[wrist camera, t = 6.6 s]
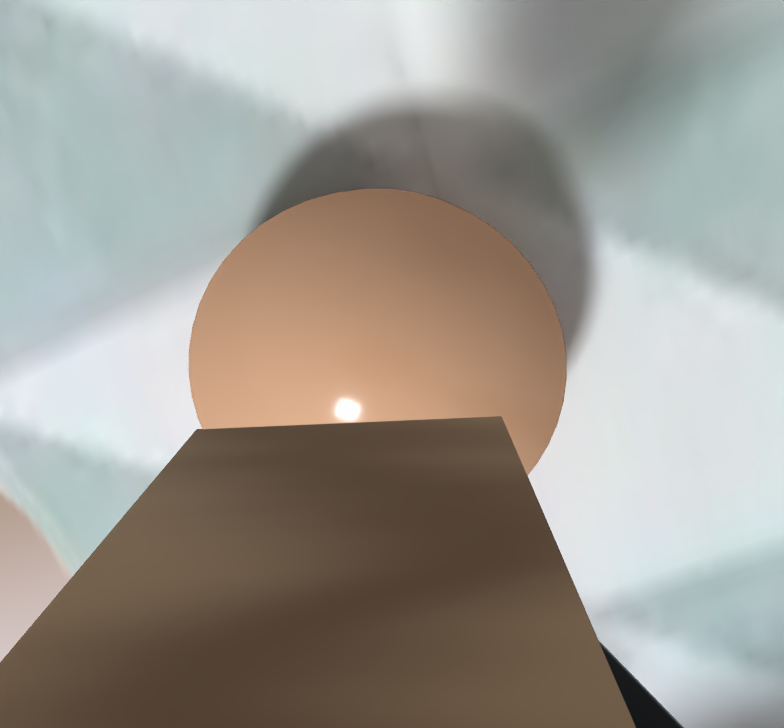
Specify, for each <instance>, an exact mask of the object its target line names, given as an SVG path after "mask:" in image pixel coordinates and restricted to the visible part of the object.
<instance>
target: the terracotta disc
mask: <svg viewBox="0 0 784 728" xmlns="http://www.w3.org/2000/svg"><path fill="white" fill-rule="evenodd" d="M189 378H190V386H191V393H192V398H193V402H194V406H195V409H196V413H197V417H198V419H199V422H200V424H201V426H202V429H218V428H241V427H264V426H287V425H310V424H333V423H356V422H380V421H403V420H426V419H449V418H472V417H495V416H502V418H503V421H504V423H505V425H506V428H507V430H508V432H509V435H510V437H511V439H512V442H513V444H514V446H515V448H516V451H517V453H518V455H519V458H520V460H521V462H522V465H523V467H524V469H525V472H526V474H527V475H528V474H529V473H530V472H531V470H532V469H533V468H534V467H535V465H536V464H537V463H538V461H539V459H540V458H541V456H542V454H543V453H544V451H545V449H546V448H547V446H548V444H549V442H550V440H551V437H552V435H553V433H554V430H555V428H556V426H557V423H558V419H559V416H560V412H561V409H562V405H563V401H564V394H565V386H566V351H565V344H564V337H563V331H562V328H561V325H560V321H559V318H558V315H557V312H556V308H555V306H554V304H553V302H552V300H551V298H550V296H549V293H548V291H547V289H546V287H545V285H544V284H543V282H542V281H541V279H540V277H539V276H538V274H537V273H536V271H535V270H534V268H533V267H532V265H531V264H530V263H529V262H528V261H527V259H526V258H525V257H524V256H523V255H522V254H521V253H520V252H519V250H518V249H517V248H516V247H515V246H514V245H513V244H512V243H511V242H510V241H509V240H507V239H506V238H505V237H504V236H503V235H501V234H500V233H499V232H498V231H497V230H496V229H494V228H493V227H492V226H490V225H489V224H487V223H485V222H484V221H482V220H481V219H479V218H478V217H476V216H474V215H473V214H471V213H469V212H467V211H465V210H463V209H461V208H458V207H456V206H454V205H452V204H450V203H447V202H445V201H443V200H440V199H437V198H434V197H430V196H427V195H423V194H420V193H417V192H411V191H404V190H397V189H359V190H352V191H344V192H336V193H332V194H328V195H325V196H321V197H317V198H314V199H310V200H307V201H305V202H303V203H300V204H298V205H296V206H293V207H291V208H289V209H286V210H284V211H282V212H281V213H279V214H277V215H276V216H274V217H273V218H271V219H269V220H268V221H266V222H264V223H263V224H261V225H260V226H259V227H257V228H256V229H255V230H254V231H253V232H251V233H250V234H249V235H248V236H247V237H246V238H244V239H243V240H242V241H241V242H240V243H239V244H238V245H237V246H236V247H235V248H234V250H233V251H232V252H231V253H230V254H229V255H228V256H227V257H226V258H225V260H224V261H223V262H222V264H221V265H220V267H219V268H218V270H217V271H216V273H215V274H214V276H213V277H212V279H211V280H210V282H209V284H208V286H207V289H206V291H205V293H204V295H203V297H202V299H201V301H200V303H199V307H198V310H197V313H196V317H195V320H194V323H193V327H192V333H191V340H190V347H189Z"/></svg>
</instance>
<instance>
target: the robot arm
mask: <svg viewBox="0 0 784 728" xmlns="http://www.w3.org/2000/svg"><path fill="white" fill-rule="evenodd" d="M598 641H599V640H598ZM599 643H600V645H601V648H602V650H603V652H604V655H605V657H606V659H607V662H608V664H609V666H610V669H611V671H612V673H613V676H614V678H615V680H616V683H617V685H618V687H619V689H620V692H621V694H622V696H623V699H624V701H625V703H626V706H627V708H628V710H629V713H630V715H631V717H632V720H633V722H634V724H635V727H636V728H684V727H683V726H682V725H681V724H680V723H679V722H678V721H677V720H676V719H675V718H674V717H673V716H672V715H671V714H670V713H669V712H668V711H667V710H666V709H665V708H664V707H663V706H662V705H661V704H660V703H659V702H658V701H657V700H656V699H655V698H654V697H653V696H652V695H651V694H650V693H649V692H648V691H647V690H646V688H645V687H644V686H643V685H642V684H641V683H640V682H639V681H638V680H637V679H636V678H635V677H634V676H633V675H632V674H631V673H630V672H629V671H628V670H627V669H626V668H625V667H624V666H623V665H622V664H621V663H620V662H619V661H618V660H617V659H616V658H615V657H614V656H613V655H612V654H611V653H610V652H609V651H608V650H607V649H606V648H605V646H604V645H603V644H602V643H601V642H600V641H599Z"/></svg>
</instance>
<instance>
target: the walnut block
mask: <svg viewBox="0 0 784 728" xmlns="http://www.w3.org/2000/svg"><path fill="white" fill-rule="evenodd" d="M0 728H636V727H635V724H634V722H633V720H632V717H631V715H630V713H629V710H628V708H627V706H626V703H625V701H624V699H623V696H622V694H621V692H620V689H619V687H618V685H617V683H616V680H615V678H614V676H613V673H612V671H611V669H610V666H609V664H608V662H607V659H606V657H605V655H604V652H603V650H602V648H601V645H600V643H599V641H598V638H597V636H596V634H595V632H594V629H593V627H592V625H591V622H590V620H589V618H588V615H587V613H586V611H585V608H584V606H583V604H582V601H581V599H580V597H579V594H578V592H577V590H576V588H575V585H574V583H573V581H572V578H571V576H570V574H569V571H568V569H567V567H566V564H565V562H564V560H563V557H562V555H561V553H560V550H559V548H558V546H557V543H556V541H555V539H554V537H553V534H552V532H551V530H550V527H549V525H548V523H547V520H546V518H545V516H544V513H543V511H542V509H541V506H540V504H539V502H538V499H537V497H536V495H535V493H534V490H533V488H532V486H531V483H530V481H529V479H528V476H527V474H526V472H525V469H524V467H523V465H522V462H521V460H520V458H519V455H518V453H517V451H516V448H515V446H514V444H513V442H512V439H511V437H510V435H509V432H508V430H507V428H506V425H505V423H504V421H503V418H502V416H495V417H472V418H449V419H426V420H403V421H380V422H356V423H333V424H310V425H287V426H264V427H241V428H218V429H197V430H196V431H195V432H194V433H193V434H192V436H191V437H190V438H189V439H188V440H187V442H186V443H185V444H184V445H183V446H182V447H181V449H180V450H179V451H178V452H177V453H176V455H175V456H174V457H173V458H172V459H171V461H170V462H169V463H168V464H167V465H166V466H165V468H164V469H163V470H162V471H161V472H160V474H159V475H158V476H157V477H156V478H155V480H154V481H153V482H152V483H151V484H150V485H149V487H148V488H147V489H146V490H145V491H144V493H143V494H142V495H141V496H140V497H139V499H138V500H137V501H136V502H135V503H134V504H133V506H132V507H131V508H130V509H129V510H128V512H127V513H126V514H125V515H124V516H123V518H122V519H121V520H120V521H119V522H118V523H117V525H116V526H115V527H114V528H113V529H112V531H111V532H110V533H109V534H108V535H107V537H106V538H105V539H104V540H103V541H102V542H101V544H100V545H99V546H98V547H97V548H96V550H95V551H94V552H93V553H92V554H91V555H90V557H89V558H88V559H87V560H86V561H85V563H84V564H83V565H82V566H81V567H80V569H79V570H78V571H77V572H76V573H75V574H74V576H73V577H72V578H71V579H70V580H69V582H68V583H67V584H66V585H65V586H64V588H63V589H62V590H61V591H60V592H59V593H58V595H57V596H56V597H55V598H54V600H53V601H52V602H51V603H50V604H49V605H48V607H47V608H46V609H45V610H44V611H43V613H42V614H41V615H40V616H39V617H38V619H37V620H36V621H35V622H34V623H33V625H32V626H31V627H30V628H29V629H28V630H27V631H26V633H25V634H24V635H23V636H22V637H21V639H20V640H19V641H18V642H17V643H16V645H15V646H14V647H13V648H12V649H11V651H10V652H9V653H8V654H7V655H6V656H5V658H4V659H3V660H2V661H1V662H0Z"/></svg>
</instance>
